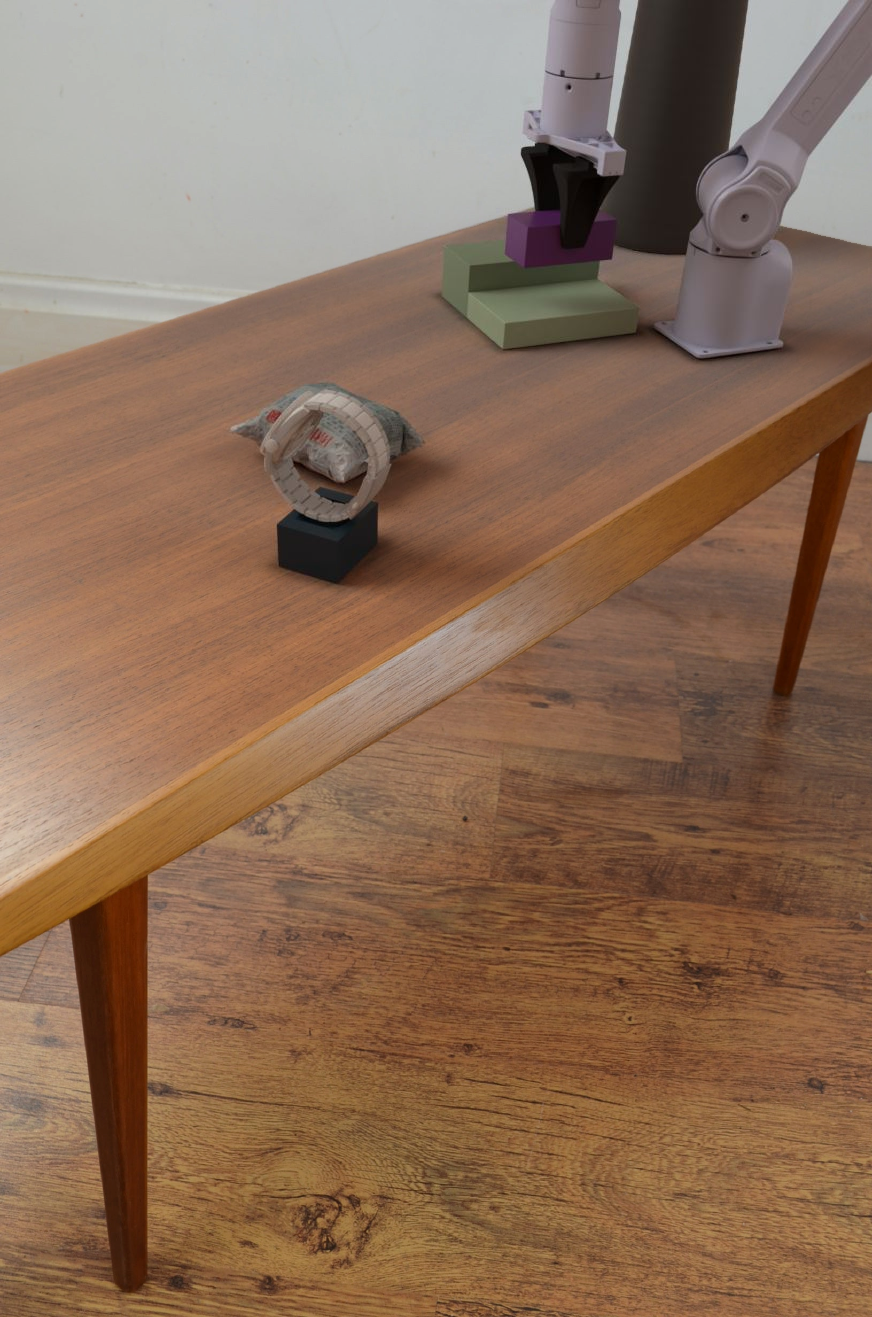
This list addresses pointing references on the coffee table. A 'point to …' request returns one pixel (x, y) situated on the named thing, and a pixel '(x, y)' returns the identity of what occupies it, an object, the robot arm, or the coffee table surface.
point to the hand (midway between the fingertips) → (560, 238)
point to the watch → (325, 489)
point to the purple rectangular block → (555, 240)
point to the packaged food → (335, 435)
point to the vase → (673, 116)
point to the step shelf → (532, 298)
